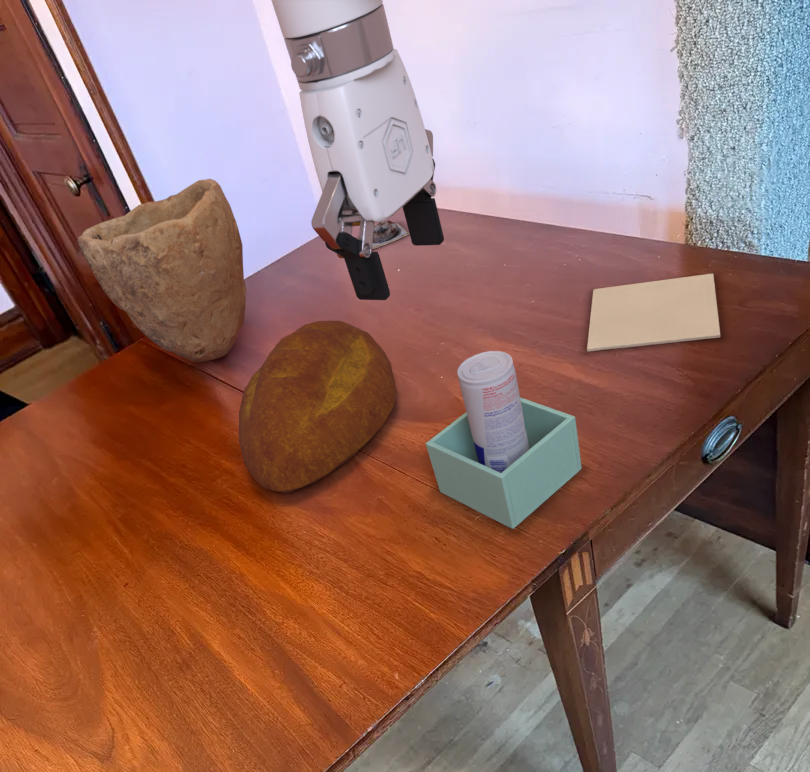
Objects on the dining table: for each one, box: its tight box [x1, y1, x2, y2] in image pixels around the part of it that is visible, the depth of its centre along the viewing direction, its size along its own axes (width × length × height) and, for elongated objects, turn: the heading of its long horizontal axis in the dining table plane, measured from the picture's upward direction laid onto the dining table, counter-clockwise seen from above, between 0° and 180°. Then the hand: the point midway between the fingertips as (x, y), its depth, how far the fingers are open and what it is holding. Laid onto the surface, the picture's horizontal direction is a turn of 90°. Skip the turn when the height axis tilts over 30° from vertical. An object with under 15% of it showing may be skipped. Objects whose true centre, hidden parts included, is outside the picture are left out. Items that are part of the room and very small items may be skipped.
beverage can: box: [456, 350, 529, 473], centre depth 78 cm, size 6×6×15 cm
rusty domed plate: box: [357, 220, 410, 250], centre depth 143 cm, size 8×8×2 cm
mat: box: [586, 272, 721, 353], centre depth 100 cm, size 16×16×1 cm
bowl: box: [77, 178, 247, 364], centre depth 117 cm, size 22×22×25 cm
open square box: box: [425, 396, 582, 530], centre depth 80 cm, size 11×11×7 cm
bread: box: [238, 320, 398, 494], centre depth 97 cm, size 21×33×12 cm, turn 163°
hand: (402, 270), depth 66 cm, fingers open, 9 cm apart
